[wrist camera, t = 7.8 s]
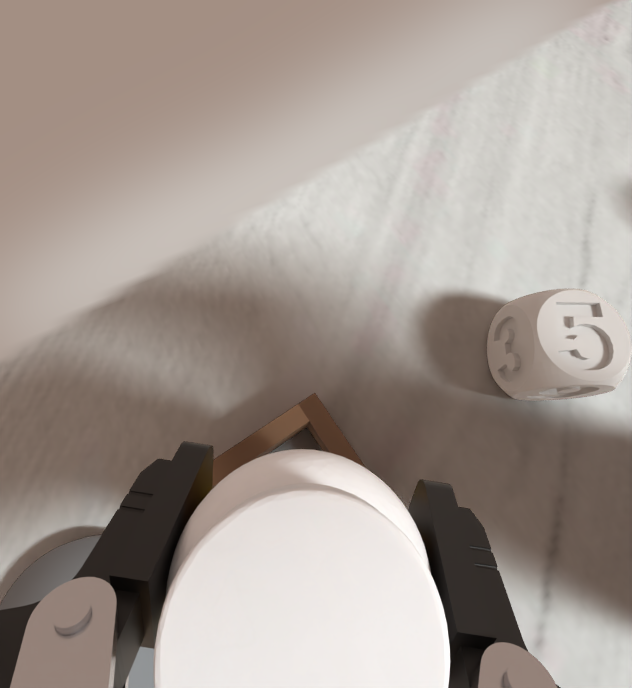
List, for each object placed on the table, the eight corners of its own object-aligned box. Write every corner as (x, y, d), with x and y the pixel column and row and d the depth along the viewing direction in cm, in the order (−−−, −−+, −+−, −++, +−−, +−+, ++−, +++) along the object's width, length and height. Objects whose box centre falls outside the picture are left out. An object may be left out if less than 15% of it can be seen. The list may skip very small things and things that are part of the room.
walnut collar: (311, 402, 23) (314, 392, 20) (398, 532, 21) (416, 542, 18) (182, 488, 21) (164, 492, 18) (265, 638, 19) (261, 668, 16)
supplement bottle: (201, 497, 15) (39, 547, 5) (331, 431, 16) (381, 379, 6) (261, 651, 13) (181, 1067, 4) (399, 569, 14) (588, 756, 5)
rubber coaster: (131, 501, 20) (124, 502, 20) (209, 651, 19) (205, 660, 18) (-26, 603, 19) (-43, 610, 18) (44, 779, 17) (30, 797, 16)
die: (558, 322, 25) (620, 288, 20) (573, 401, 24) (645, 384, 19) (481, 321, 25) (526, 286, 20) (492, 400, 23) (544, 383, 19)
